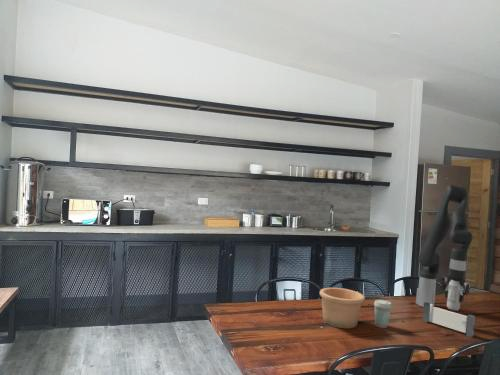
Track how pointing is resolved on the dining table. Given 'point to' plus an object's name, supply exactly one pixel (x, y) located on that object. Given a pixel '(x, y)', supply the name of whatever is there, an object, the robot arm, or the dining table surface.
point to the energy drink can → (453, 295)
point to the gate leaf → (448, 318)
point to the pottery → (341, 307)
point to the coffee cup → (382, 313)
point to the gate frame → (469, 321)
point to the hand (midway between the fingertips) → (453, 299)
